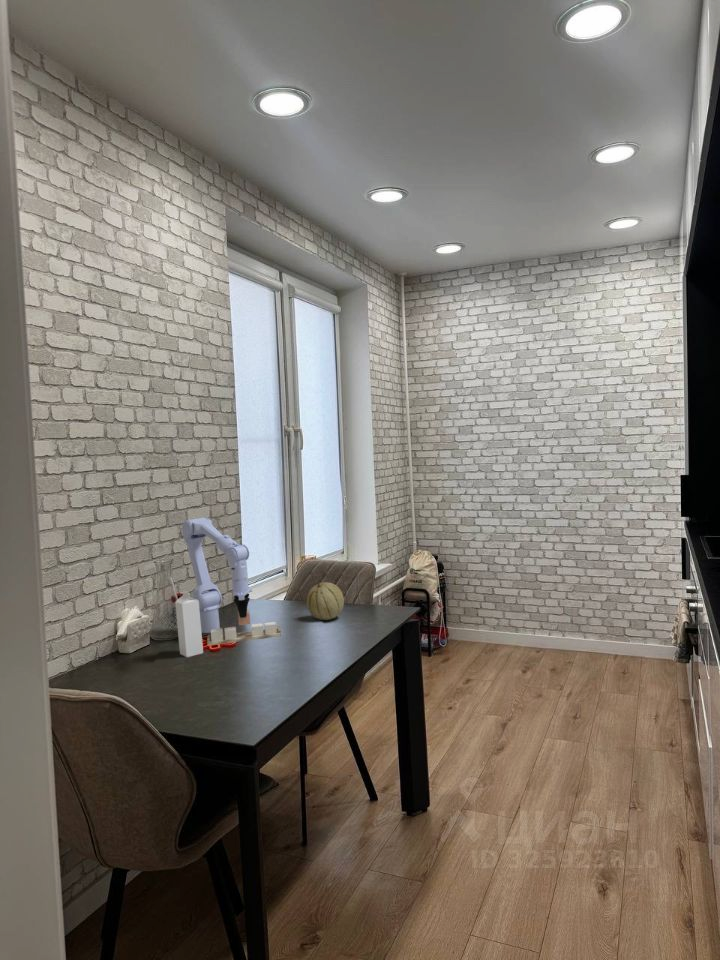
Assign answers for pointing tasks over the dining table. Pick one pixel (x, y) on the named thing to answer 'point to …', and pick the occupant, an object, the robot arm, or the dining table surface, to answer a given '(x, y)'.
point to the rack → (244, 637)
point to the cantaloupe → (325, 601)
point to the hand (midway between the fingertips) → (243, 615)
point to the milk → (189, 625)
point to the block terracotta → (244, 619)
